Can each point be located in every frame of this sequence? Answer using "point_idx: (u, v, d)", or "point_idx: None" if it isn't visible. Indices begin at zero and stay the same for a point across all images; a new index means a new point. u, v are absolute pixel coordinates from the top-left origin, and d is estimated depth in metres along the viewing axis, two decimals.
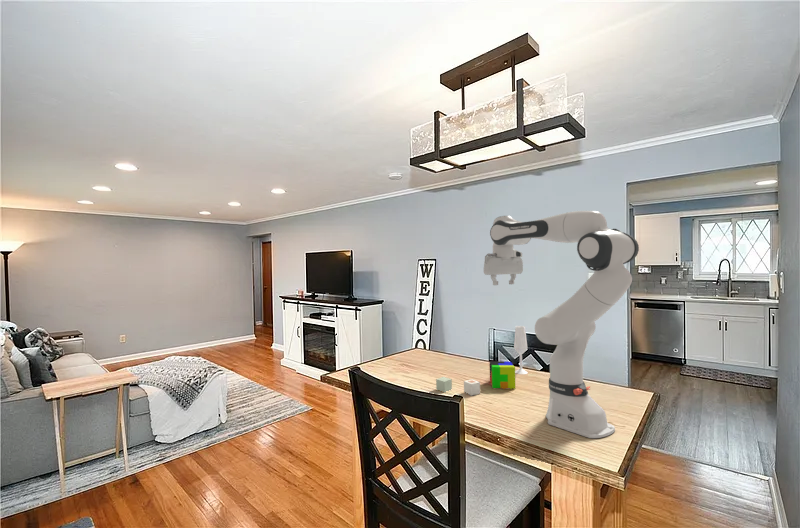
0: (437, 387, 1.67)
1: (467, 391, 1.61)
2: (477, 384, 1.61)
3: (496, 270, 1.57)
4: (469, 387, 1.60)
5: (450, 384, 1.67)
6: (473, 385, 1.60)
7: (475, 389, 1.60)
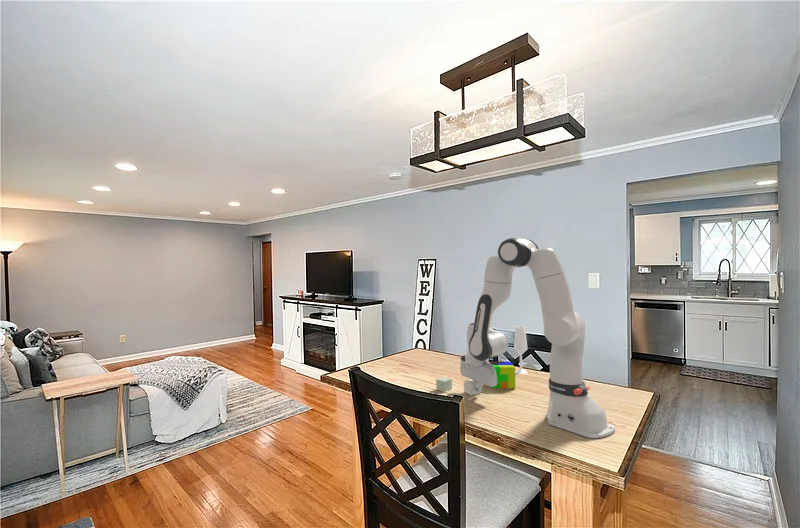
0: (437, 387, 1.67)
1: (467, 391, 1.61)
2: None
3: None
4: (469, 387, 1.60)
5: (450, 384, 1.67)
6: (473, 385, 1.60)
7: None
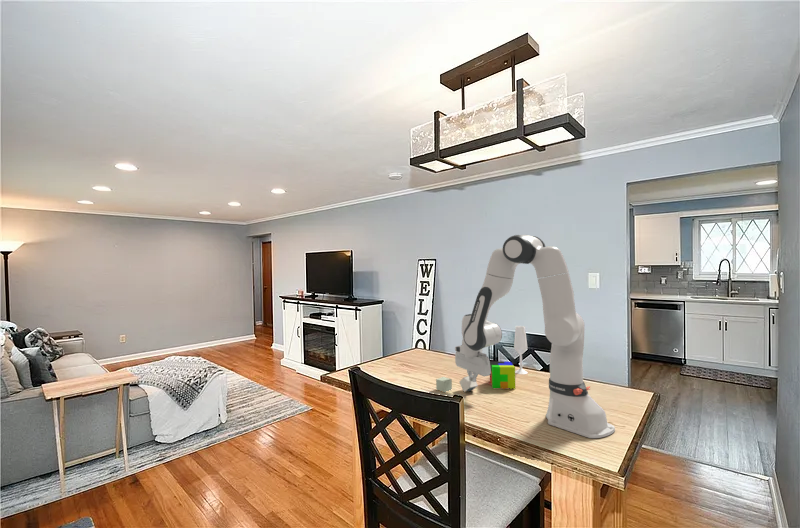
0: (437, 387, 1.67)
1: (465, 387, 1.63)
2: None
3: None
4: (464, 381, 1.63)
5: (450, 384, 1.67)
6: (467, 377, 1.63)
7: (471, 381, 1.63)
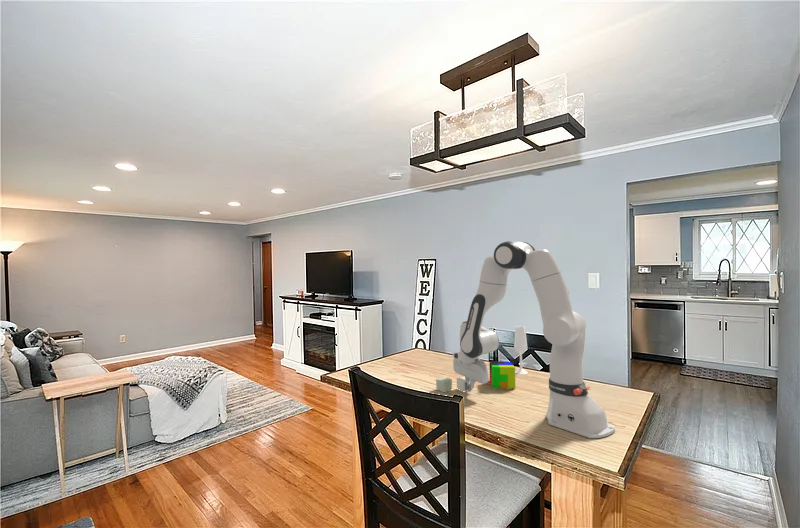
0: (437, 387, 1.67)
1: (462, 386, 1.65)
2: (463, 377, 1.69)
3: None
4: (459, 381, 1.67)
5: (450, 384, 1.66)
6: (459, 378, 1.68)
7: (464, 379, 1.67)
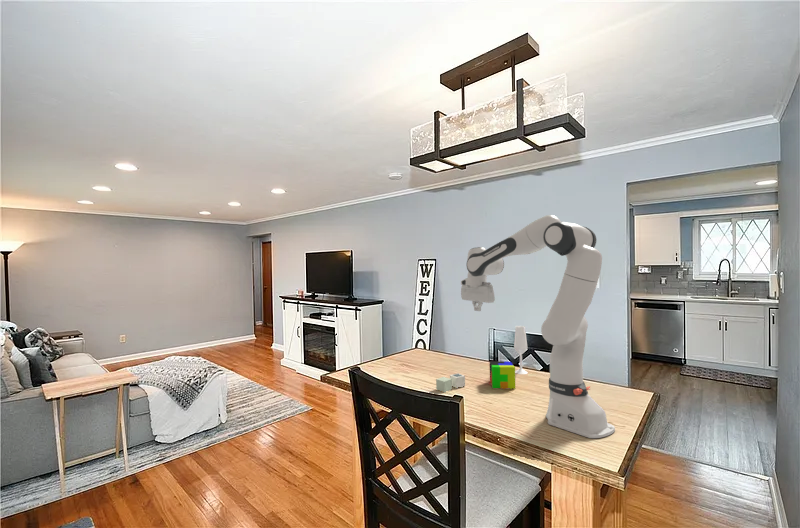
0: (437, 387, 1.67)
1: (453, 378, 1.71)
2: None
3: None
4: None
5: (450, 384, 1.66)
6: None
7: None
